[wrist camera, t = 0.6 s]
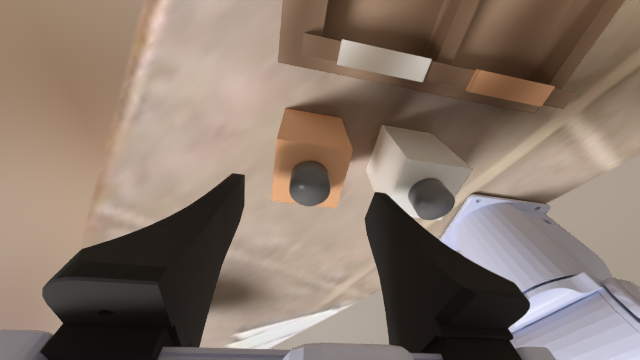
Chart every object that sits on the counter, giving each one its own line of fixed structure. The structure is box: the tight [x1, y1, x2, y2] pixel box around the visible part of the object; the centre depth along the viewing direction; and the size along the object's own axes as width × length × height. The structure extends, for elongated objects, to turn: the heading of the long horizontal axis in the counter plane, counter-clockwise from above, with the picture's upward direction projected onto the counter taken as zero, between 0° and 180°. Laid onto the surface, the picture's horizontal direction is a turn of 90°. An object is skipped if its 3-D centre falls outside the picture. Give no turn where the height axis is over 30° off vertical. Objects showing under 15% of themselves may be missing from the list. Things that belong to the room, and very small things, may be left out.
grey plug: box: [366, 125, 473, 220], centre depth 18 cm, size 4×4×7 cm
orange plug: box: [271, 108, 353, 208], centre depth 16 cm, size 4×4×7 cm
